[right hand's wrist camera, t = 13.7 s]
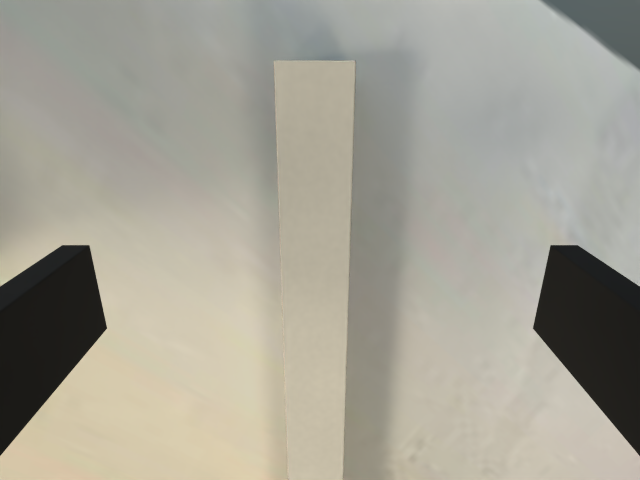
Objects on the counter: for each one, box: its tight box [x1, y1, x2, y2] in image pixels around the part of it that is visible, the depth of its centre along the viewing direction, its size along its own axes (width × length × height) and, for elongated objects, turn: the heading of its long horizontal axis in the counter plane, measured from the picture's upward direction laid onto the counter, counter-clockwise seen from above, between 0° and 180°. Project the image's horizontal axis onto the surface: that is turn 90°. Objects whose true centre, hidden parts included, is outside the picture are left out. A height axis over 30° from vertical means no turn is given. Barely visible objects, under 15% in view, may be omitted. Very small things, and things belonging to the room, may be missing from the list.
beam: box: [274, 60, 356, 480], centre depth 43 cm, size 75×5×8 cm, turn 0°
